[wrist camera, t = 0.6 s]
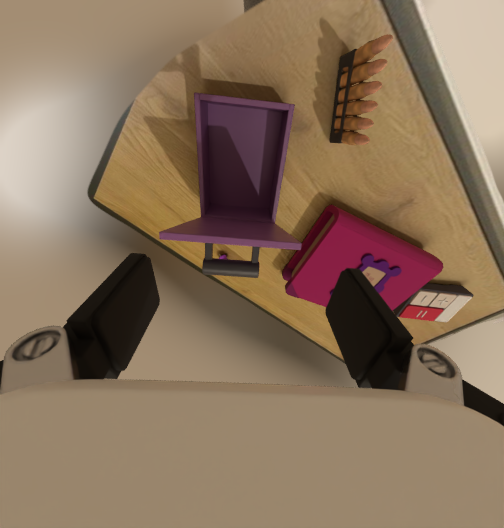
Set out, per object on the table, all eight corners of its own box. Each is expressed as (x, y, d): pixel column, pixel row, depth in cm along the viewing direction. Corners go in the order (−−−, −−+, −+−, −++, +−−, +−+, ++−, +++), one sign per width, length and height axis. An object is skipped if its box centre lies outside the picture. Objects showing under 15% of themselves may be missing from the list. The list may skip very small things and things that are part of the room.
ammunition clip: (340, 141, 35) (374, 149, 26) (329, 142, 35) (359, 150, 26) (353, 55, 29) (405, 21, 19) (340, 56, 29) (385, 24, 19)
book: (329, 201, 41) (343, 215, 35) (425, 249, 48) (451, 268, 42) (279, 274, 52) (283, 295, 46) (363, 305, 59) (376, 326, 53)
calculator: (420, 290, 51) (477, 297, 51) (409, 279, 54) (463, 285, 55) (397, 318, 57) (448, 324, 57) (389, 307, 61) (437, 313, 61)
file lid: (158, 231, 19) (161, 279, 20) (302, 243, 19) (294, 288, 21) (200, 217, 36) (200, 243, 37) (275, 223, 37) (272, 248, 38)
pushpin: (220, 250, 48) (219, 257, 46) (232, 255, 49) (231, 263, 47) (217, 256, 49) (215, 263, 47) (228, 262, 50) (227, 269, 48)
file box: (203, 97, 32) (193, 92, 26) (287, 107, 33) (294, 104, 27) (207, 205, 42) (201, 218, 36) (271, 211, 43) (274, 224, 37)
